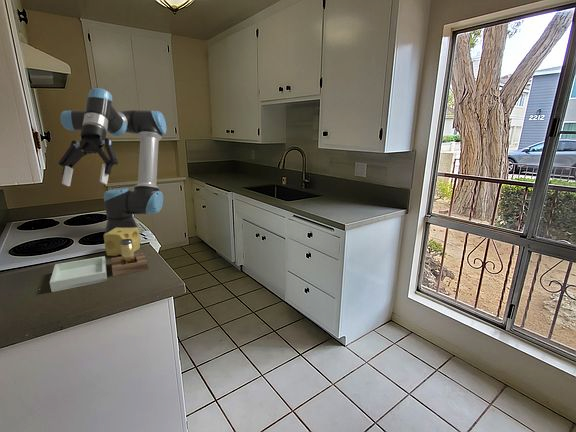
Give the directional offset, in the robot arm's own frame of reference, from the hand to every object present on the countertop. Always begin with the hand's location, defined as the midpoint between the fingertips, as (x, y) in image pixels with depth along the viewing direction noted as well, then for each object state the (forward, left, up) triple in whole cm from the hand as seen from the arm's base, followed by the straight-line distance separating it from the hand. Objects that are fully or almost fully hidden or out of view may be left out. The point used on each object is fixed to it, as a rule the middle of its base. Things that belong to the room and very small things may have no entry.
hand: (84, 184), depth 104 cm
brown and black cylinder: (-3, +10, -34) cm, 36 cm away
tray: (-2, -6, -34) cm, 35 cm away
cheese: (-21, +9, -35) cm, 42 cm away
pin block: (-3, +10, -34) cm, 36 cm away
